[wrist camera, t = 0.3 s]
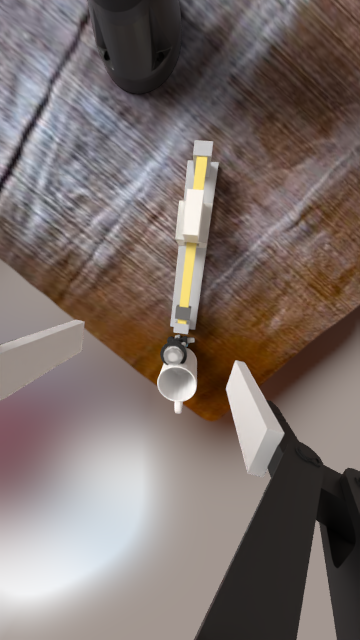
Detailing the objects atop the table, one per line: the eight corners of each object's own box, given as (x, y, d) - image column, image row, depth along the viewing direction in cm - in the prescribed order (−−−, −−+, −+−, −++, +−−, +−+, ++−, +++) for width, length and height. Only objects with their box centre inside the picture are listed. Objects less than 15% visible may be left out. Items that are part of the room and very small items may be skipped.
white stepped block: (182, 213, 34) (176, 187, 25) (210, 215, 34) (215, 191, 24) (178, 245, 35) (171, 232, 26) (205, 248, 35) (208, 236, 26)
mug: (165, 345, 44) (156, 365, 33) (197, 346, 43) (196, 367, 33) (167, 388, 46) (159, 418, 36) (196, 389, 45) (196, 421, 35)
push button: (193, 328, 42) (191, 341, 32) (195, 348, 43) (195, 367, 33) (166, 331, 43) (157, 345, 33) (169, 351, 44) (161, 370, 34)
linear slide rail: (188, 163, 34) (186, 135, 28) (218, 165, 34) (223, 138, 27) (170, 325, 42) (166, 333, 36) (195, 328, 42) (194, 337, 35)
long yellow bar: (194, 158, 31) (193, 145, 28) (210, 159, 30) (212, 146, 27) (175, 328, 38) (173, 332, 35) (188, 330, 38) (187, 334, 35)
